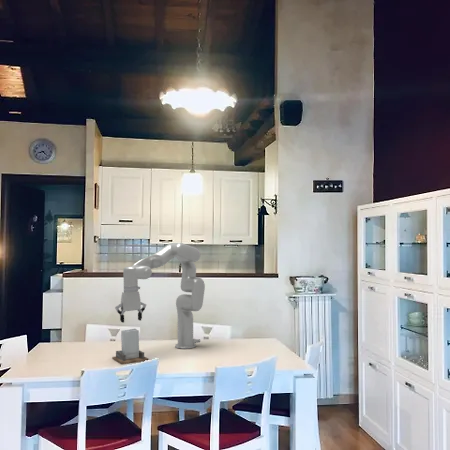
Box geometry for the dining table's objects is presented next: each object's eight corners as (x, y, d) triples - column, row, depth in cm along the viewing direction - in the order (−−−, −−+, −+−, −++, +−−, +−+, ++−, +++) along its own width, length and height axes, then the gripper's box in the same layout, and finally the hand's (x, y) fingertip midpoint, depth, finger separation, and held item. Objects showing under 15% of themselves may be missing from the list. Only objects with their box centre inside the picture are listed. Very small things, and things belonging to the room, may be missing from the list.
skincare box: (135, 355, 250) (135, 328, 250) (139, 357, 244) (139, 330, 245) (120, 357, 245) (120, 329, 246) (124, 359, 240) (124, 331, 241)
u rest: (138, 355, 255) (138, 347, 255) (148, 360, 242) (148, 353, 243) (112, 358, 247) (112, 351, 248) (121, 364, 235) (121, 356, 235)
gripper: (143, 287, 255) (143, 318, 254) (112, 290, 246) (113, 322, 245) (148, 288, 248) (148, 320, 248) (117, 291, 239) (117, 324, 239)
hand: (131, 321), depth 246 cm, fingers open, 9 cm apart
